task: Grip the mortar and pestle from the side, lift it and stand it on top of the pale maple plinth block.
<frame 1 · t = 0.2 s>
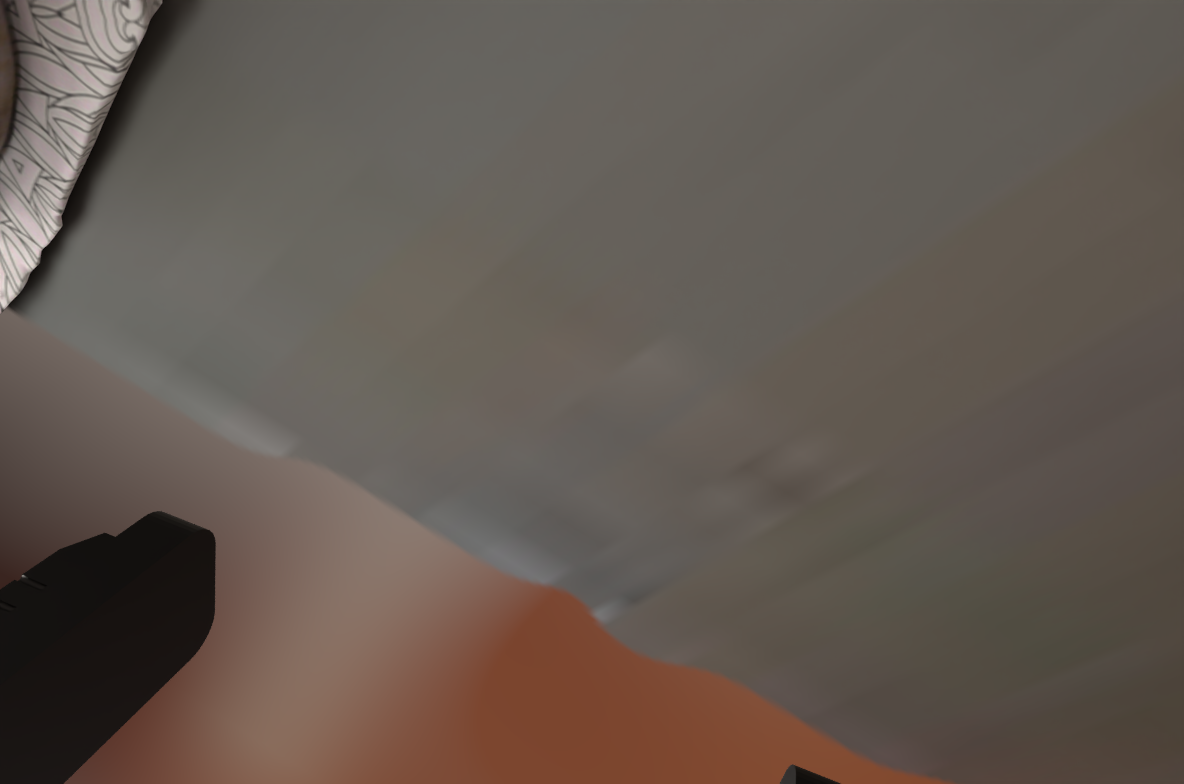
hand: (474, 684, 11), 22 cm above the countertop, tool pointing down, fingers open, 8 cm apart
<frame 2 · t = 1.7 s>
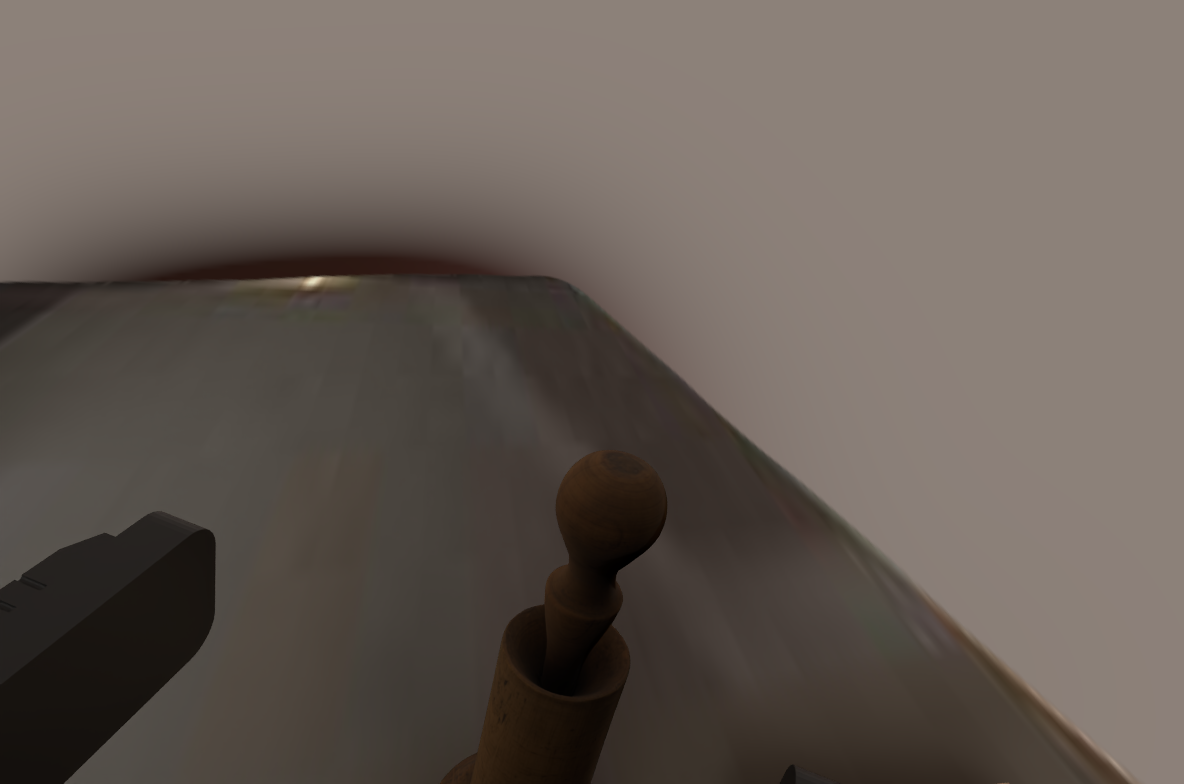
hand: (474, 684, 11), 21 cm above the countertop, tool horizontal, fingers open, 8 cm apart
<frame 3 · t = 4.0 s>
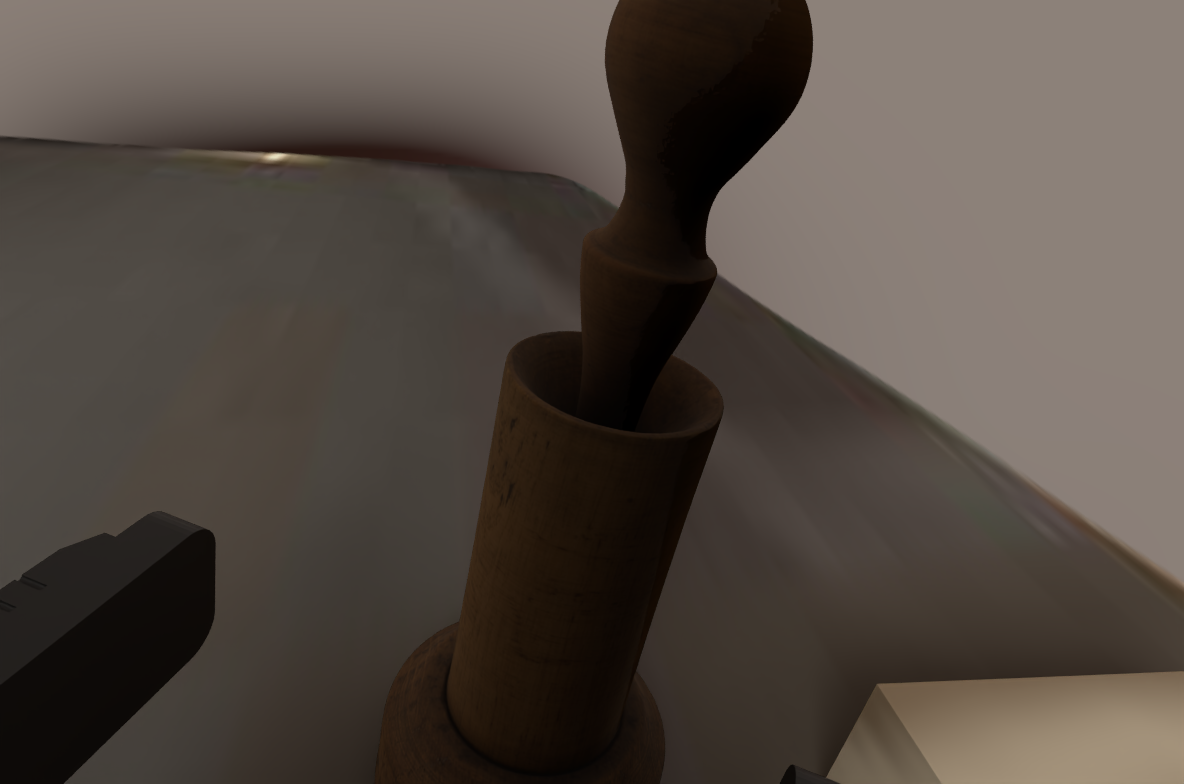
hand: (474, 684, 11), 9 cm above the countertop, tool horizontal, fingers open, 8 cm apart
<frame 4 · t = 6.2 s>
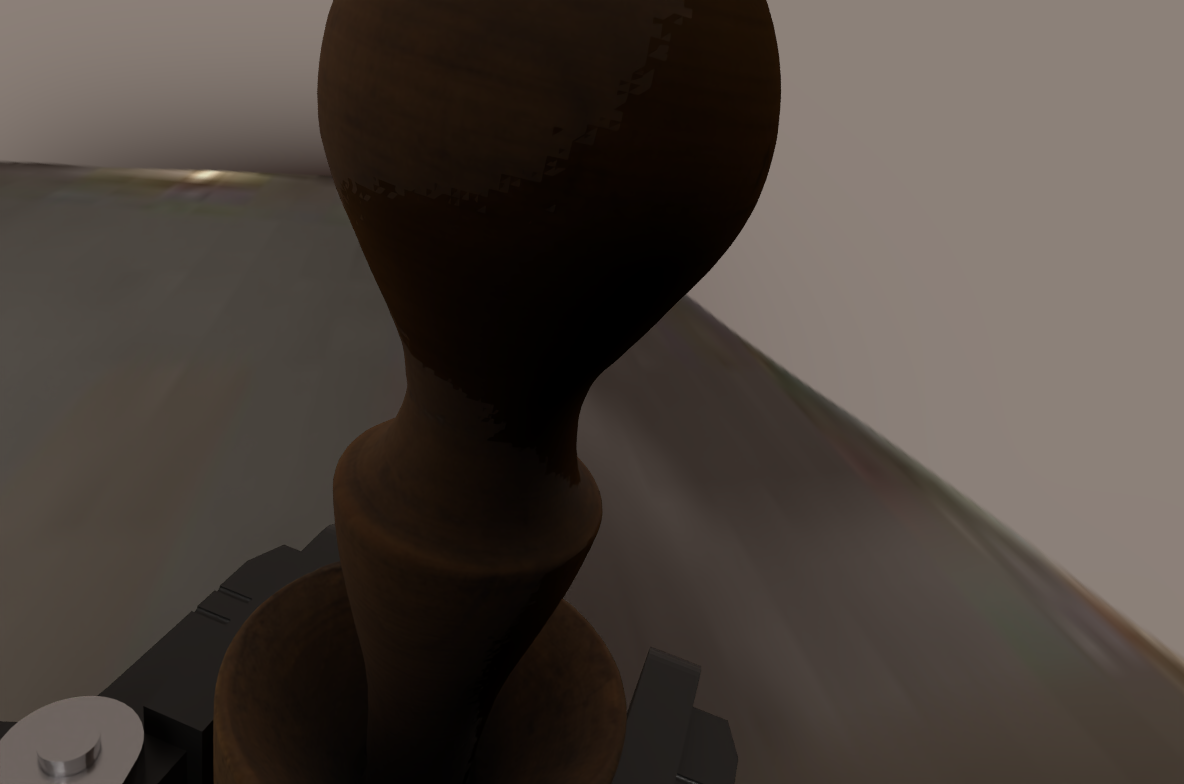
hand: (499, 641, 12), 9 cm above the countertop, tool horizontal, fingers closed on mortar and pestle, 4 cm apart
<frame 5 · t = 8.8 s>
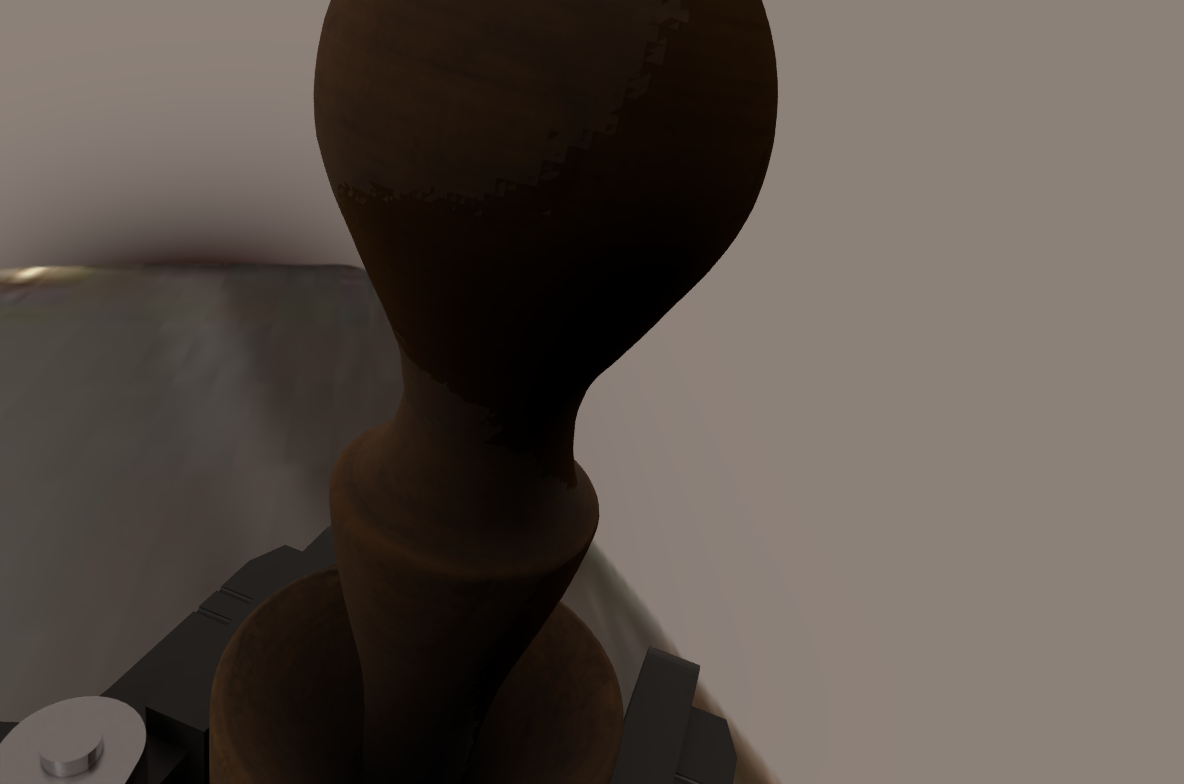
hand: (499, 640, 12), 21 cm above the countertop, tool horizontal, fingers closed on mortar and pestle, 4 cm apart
when the fingers open (14 cm above the countertop, at t = 11.0 s): mortar and pestle drops 1 cm, resting on plinth.
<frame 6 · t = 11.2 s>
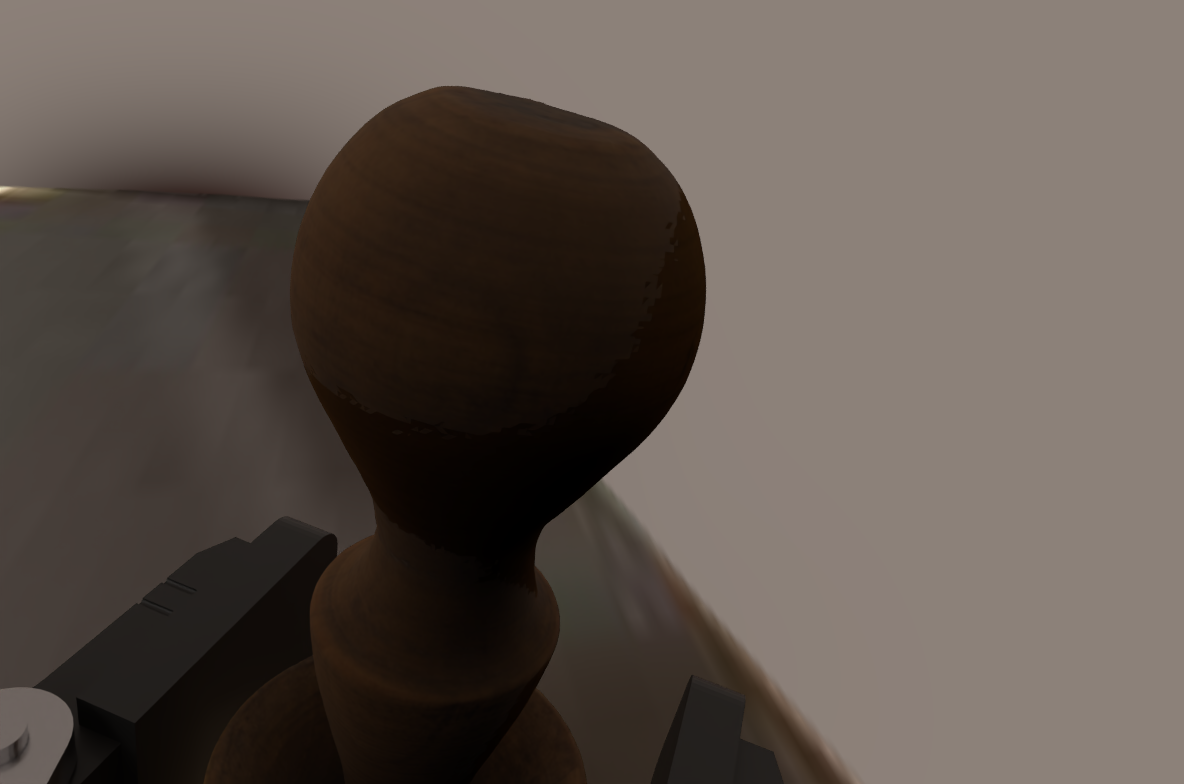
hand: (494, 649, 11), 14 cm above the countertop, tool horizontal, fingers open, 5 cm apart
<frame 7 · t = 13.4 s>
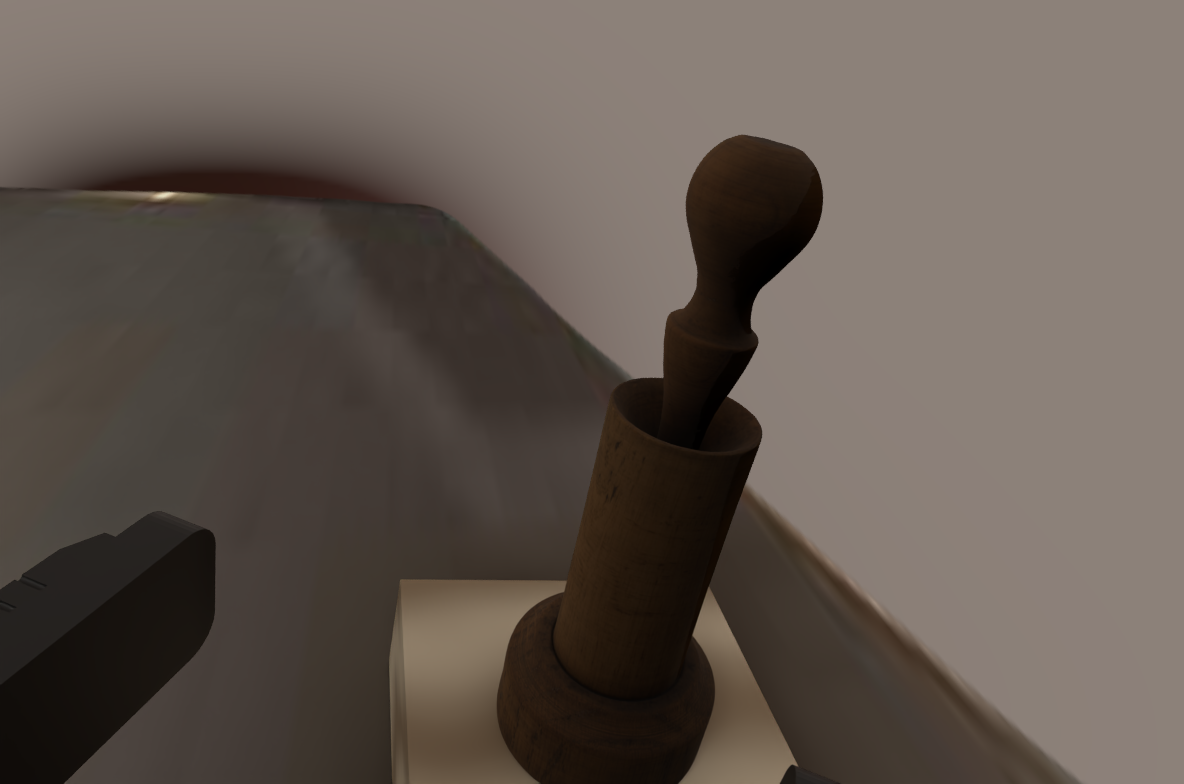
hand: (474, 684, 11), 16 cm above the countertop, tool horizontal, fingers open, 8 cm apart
mortar and pestle: (595, 718, 26), point 4 cm above the countertop, touching plinth
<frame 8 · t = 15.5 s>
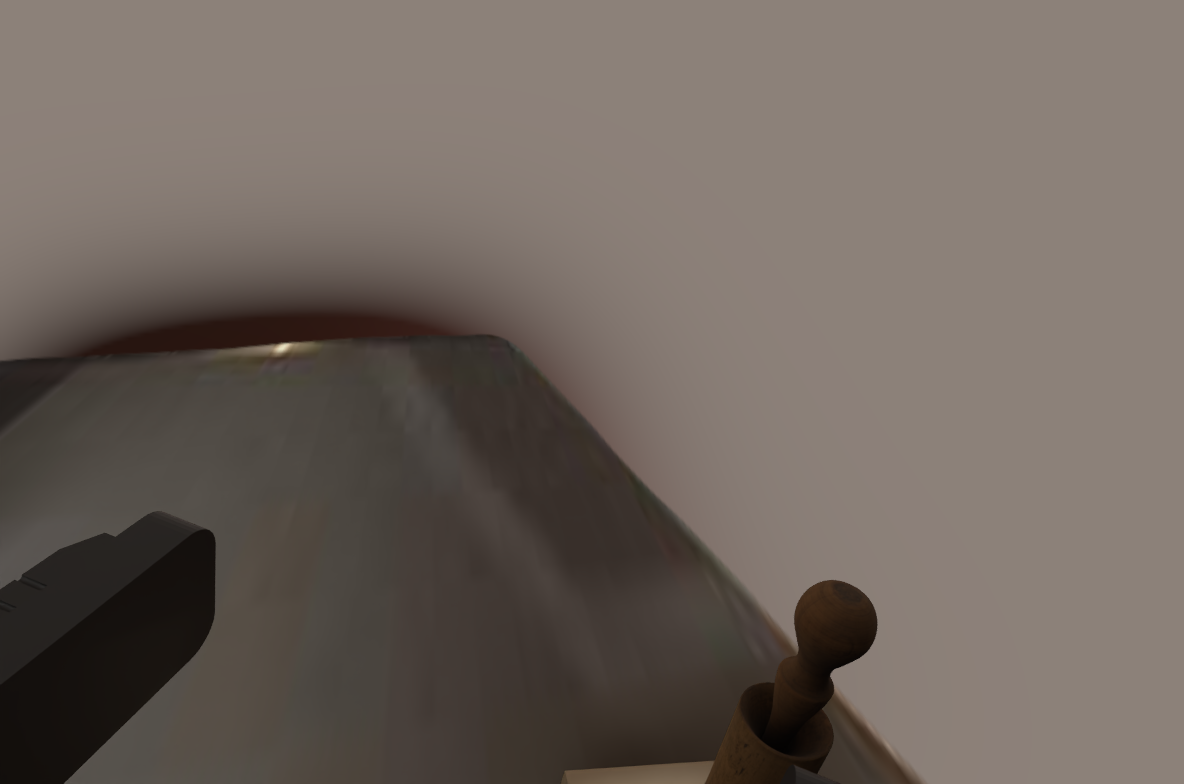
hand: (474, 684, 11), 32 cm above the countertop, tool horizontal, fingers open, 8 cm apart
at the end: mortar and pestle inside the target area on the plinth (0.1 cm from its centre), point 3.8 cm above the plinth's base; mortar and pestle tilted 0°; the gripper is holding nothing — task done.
